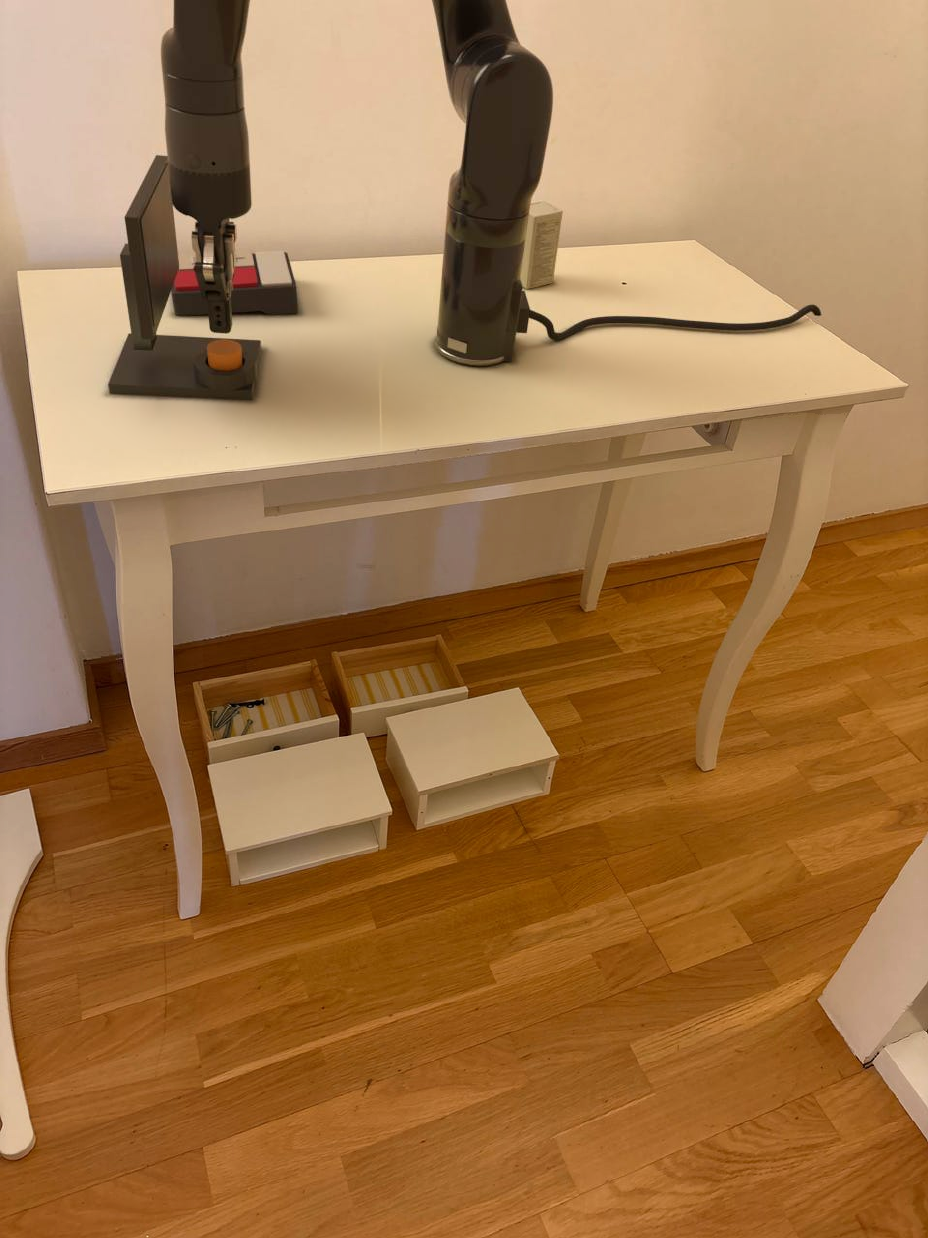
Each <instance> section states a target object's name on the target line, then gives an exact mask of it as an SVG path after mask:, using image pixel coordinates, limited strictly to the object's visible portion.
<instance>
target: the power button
mask: <svg viewBox="0 0 928 1238" xmlns="http://www.w3.org/2000/svg"><path fill="white" fill-rule="evenodd" d="M226 339H227V338H226ZM226 339H221V340H215V341H212V342H210V343H209V344H208V345H207V354H208V364H209V367H211V368H214V369H216V370H227V371H229V370H234V369H238V368H240V367H241V366H242V350H241V345H240V344H239V343H238V342H236V341H233V340H226Z"/></svg>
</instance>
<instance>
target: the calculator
mask: <svg viewBox="0 0 928 1238" xmlns="http://www.w3.org/2000/svg"><path fill="white" fill-rule="evenodd" d="M178 259H179V270H178V273H177V276H176V278H175V281H174V284H173V287H172V290H171V292H170V295H171V300H172V306H173V311H174V315H175V316H176V317H184V316H186V317H187V316H202V315H203V316H204V315H208V302H207V300H203V299H202V296H201V292H200V289H199V285H198V282H197V278H196V275H195V271H194V266H195V262H196V253H195V252H194V253H178ZM235 260H236V265H235V269H234V277H233V281H232V285H233V290H232V293H231V310H232V313H248V312H262V313H264V314H266V315H269V316H273V315H274V316H276V315H289V314H292V315H293V314H297V313H298V312H299V306H298V305H299V304H298V291H297V284H296V280H295V276H294V273H293V269H292V265H291V261H290V258H289V254H288V252H286V251H284V250H265V251H256V252H255V253H253V252H252V250H238V251H236V250H235Z"/></svg>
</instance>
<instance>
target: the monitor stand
mask: <svg viewBox="0 0 928 1238" xmlns="http://www.w3.org/2000/svg"><path fill="white" fill-rule="evenodd" d="M119 259H120V266H121V273H122V280H123V286H124V287H123V288H124V293H125V300H126V307H127V313H128V320H129V328H130V333H131V335H132V342H133V348H134V350H153V347H154V344H155V342H156V339H157V335H158V334H157V333H156V334H155V337H154V340H145V339H141V332H140V325H139V318H138V311H137V304H136V296H135V289H134V282H133V275H132V268H131V260H130V253H129V246H128V243H124V245H123V247H122V249H121V252H120V254H119Z"/></svg>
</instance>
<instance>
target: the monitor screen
mask: <svg viewBox="0 0 928 1238" xmlns="http://www.w3.org/2000/svg"><path fill="white" fill-rule="evenodd" d="M124 223H125V233H126V239H127V244H128V246H129V253H130V260H131V268H132V275H133V282H134V289H135V296H136V304H137V311H138V318H139V325H140V332H141V339H145V340H154V337H155V334H156V335H157V331H158V330H159V329H158V328H159V326H160V323H161V320H162V317H163V315H164V312H165V309H166V306H167V303H168V301H169V298H170V295H171V290H172V287H173V284H174V281H175V278H176V276H177V273H178V270H179V259H178V254H179V251H178V242H177V241H178V240H177V232H176V223H175V213H174V206H173V204H172V197H171V186H170V176H169V166H168V156H167V155H159V154H156V155H155V157H154V159H153V160H152V162H151V164H150V166H149V168H148V170H147V172H146V174H145V176H144V178H143V180H142V182H141V184H140V186H139V188H138V190H137V192H136V193H135V196H134V197H133V199H132V201H131V203H130V205H129V207H128V209H127V212H126V213H125V215H124Z"/></svg>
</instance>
